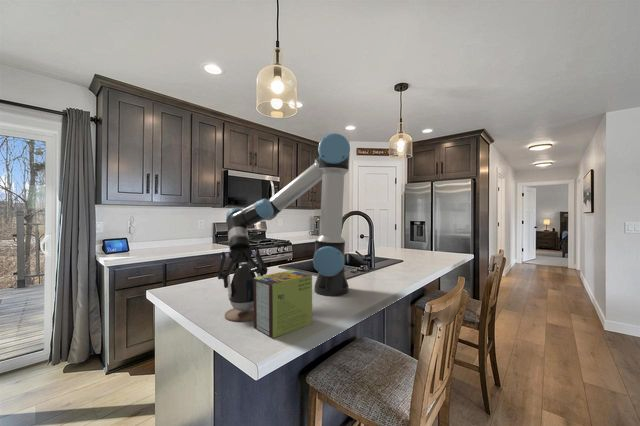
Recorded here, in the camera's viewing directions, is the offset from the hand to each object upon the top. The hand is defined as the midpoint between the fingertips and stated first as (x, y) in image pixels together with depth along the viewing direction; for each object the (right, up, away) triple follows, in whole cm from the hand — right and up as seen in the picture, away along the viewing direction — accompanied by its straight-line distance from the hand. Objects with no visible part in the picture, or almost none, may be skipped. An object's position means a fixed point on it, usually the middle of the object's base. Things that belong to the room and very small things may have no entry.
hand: (246, 293), depth 93 cm
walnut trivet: (-1, -8, +3) cm, 9 cm away
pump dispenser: (-1, -6, +3) cm, 7 cm away
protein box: (+13, -8, -6) cm, 17 cm away
